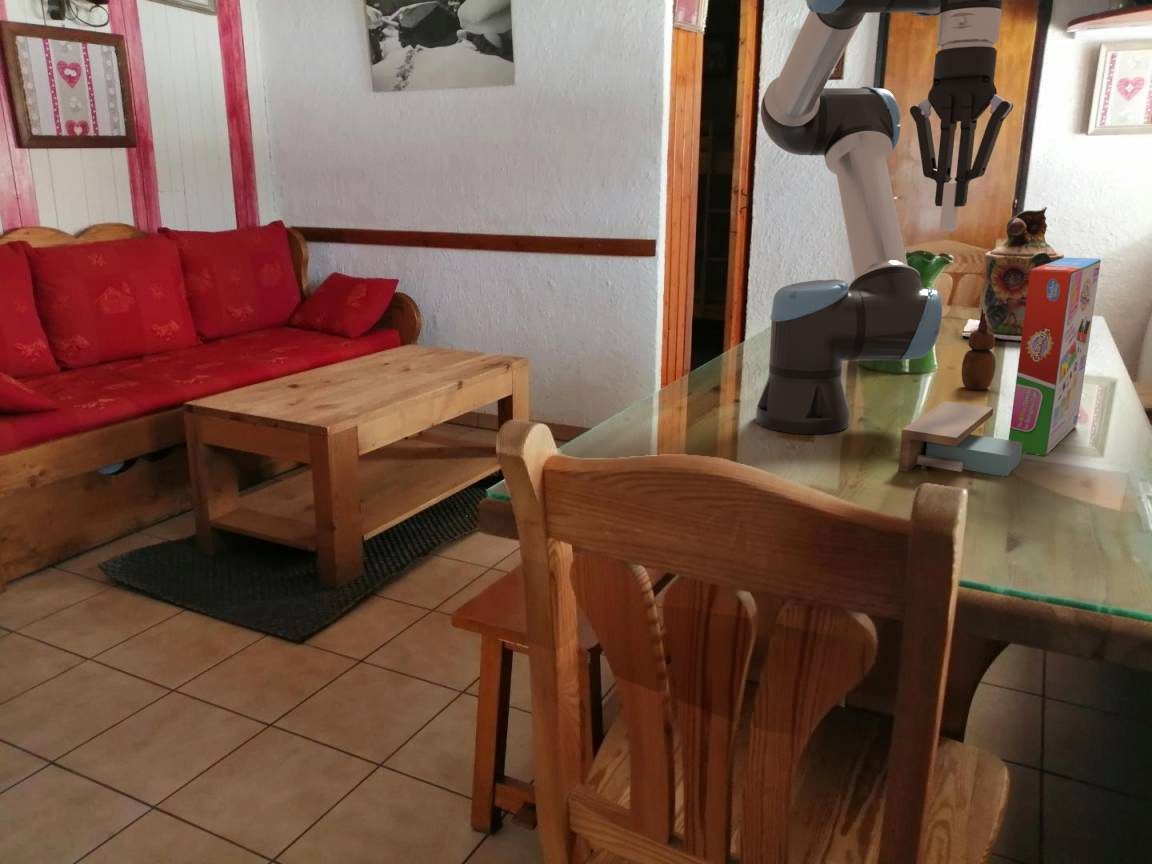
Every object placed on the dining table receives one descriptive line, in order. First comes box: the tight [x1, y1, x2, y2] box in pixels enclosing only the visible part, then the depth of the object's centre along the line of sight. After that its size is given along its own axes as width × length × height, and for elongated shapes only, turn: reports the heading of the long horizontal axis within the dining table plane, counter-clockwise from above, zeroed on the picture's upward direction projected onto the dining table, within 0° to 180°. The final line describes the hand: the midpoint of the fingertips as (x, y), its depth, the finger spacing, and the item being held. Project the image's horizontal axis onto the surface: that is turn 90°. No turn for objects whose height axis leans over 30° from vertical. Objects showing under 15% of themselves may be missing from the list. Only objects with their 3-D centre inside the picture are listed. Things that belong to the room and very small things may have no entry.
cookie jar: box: [961, 206, 1065, 341], centre depth 227 cm, size 25×25×32 cm
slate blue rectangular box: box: [926, 433, 1023, 477], centre depth 130 cm, size 11×8×3 cm
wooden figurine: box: [961, 310, 997, 391], centre depth 173 cm, size 7×6×15 cm
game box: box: [1008, 257, 1102, 457], centre depth 138 cm, size 21×6×27 cm, turn 141°
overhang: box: [898, 400, 994, 473], centre depth 132 cm, size 7×20×6 cm, turn 143°
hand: (947, 231), depth 125 cm, fingers closed
